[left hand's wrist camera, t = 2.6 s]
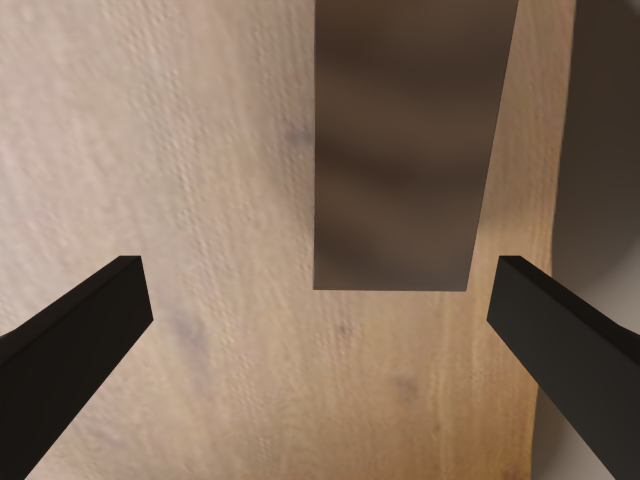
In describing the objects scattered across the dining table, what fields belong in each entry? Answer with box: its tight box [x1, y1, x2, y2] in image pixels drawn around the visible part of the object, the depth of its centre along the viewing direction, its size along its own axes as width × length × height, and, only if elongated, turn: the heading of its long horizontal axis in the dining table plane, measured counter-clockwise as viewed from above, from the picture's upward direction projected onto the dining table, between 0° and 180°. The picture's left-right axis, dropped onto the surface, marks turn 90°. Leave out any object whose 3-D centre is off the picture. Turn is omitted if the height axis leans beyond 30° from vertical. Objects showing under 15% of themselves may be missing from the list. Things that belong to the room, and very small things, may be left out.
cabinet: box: [313, 0, 519, 291], centre depth 24 cm, size 17×10×9 cm, turn 179°
